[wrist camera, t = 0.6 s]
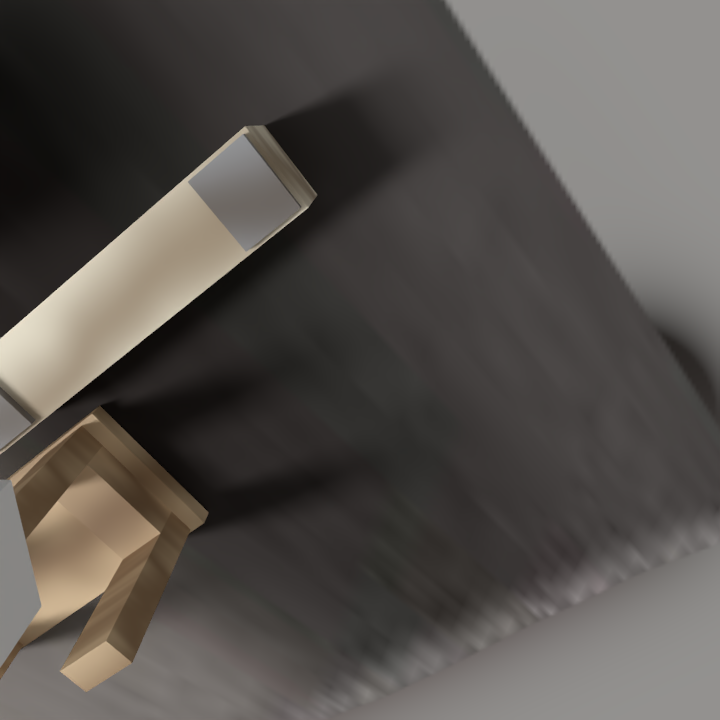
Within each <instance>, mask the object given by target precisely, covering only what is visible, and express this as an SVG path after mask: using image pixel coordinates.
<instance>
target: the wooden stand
mask: <svg viewBox="0 0 720 720" xmlns="http://www.w3.org/2000/svg"><path fill="white" fill-rule="evenodd" d="M7 480H11V482H12V486H13V490H14V494H15V498H16V502H17V506H18V510H19V515H20V519H21V523H22V527H23V531H24V535H25V539H26V543H27V548H28V552H29V556H30V560H31V564H32V568H33V572H34V576H35V580H36V585H37V589H38V593H39V597H40V601H41V605H42V606H41V608H40V609H39V611H38V612H37V614H36V615H35V617H34V618H33V620H32V621H31V623H30V624H29V626H28V627H27V629H26V630H25V632H24V633H23V635H22V636H21V638H20V639H19V641H18V642H17V644H16V645H15V647H14V648H13V650H12V651H11V653H10V654H9V656H8V657H7V659H6V660H5V662H4V663H3V665H2V666H1V668H0V679H1V678H2V676H3V674H4V673H5V671H6V670H7V668H8V667H9V665H10V664H11V662H12V661H13V659H14V658H15V656H16V655H17V653H18V652H19V650H20V649H21V648H23V647H24V646H26V645H27V644H29V643H30V642H32V641H33V640H35V639H36V638H38V637H39V636H40V635H42V634H43V633H45V632H46V631H48V630H49V629H51V628H52V627H54V626H55V625H56V624H58V623H59V622H61V621H62V620H64V619H65V618H67V617H68V616H70V615H71V614H72V613H74V612H75V611H77V610H78V609H80V608H81V607H83V606H84V605H86V604H87V603H88V602H90V601H91V600H93V599H94V598H96V597H97V596H99V595H100V594H102V593H103V592H104V591H105V592H104V594H103V596H102V597H101V599H100V601H99V603H98V604H97V606H96V608H95V610H94V612H93V613H92V615H91V617H90V619H89V620H88V622H87V624H86V626H85V628H84V629H83V631H82V633H81V635H80V636H79V638H78V640H77V642H76V644H75V645H74V647H73V649H72V651H71V653H70V654H69V656H68V658H67V660H66V661H65V663H64V665H63V667H62V669H61V670H60V672H61V673H63V674H64V675H65V676H66V677H68V678H69V679H70V680H72V681H73V682H74V683H75V684H77V685H78V686H79V687H80V688H82V689H83V690H84V691H85V692H87V691H89V690H90V689H92V688H93V687H95V686H96V685H98V684H100V683H101V682H103V681H104V680H106V679H107V678H109V677H111V676H112V675H114V674H115V673H117V672H118V671H120V670H122V669H123V668H125V667H126V666H128V665H129V664H131V663H132V662H133V660H134V657H135V655H136V653H137V651H138V648H139V646H140V644H141V641H142V639H143V637H144V635H145V632H146V630H147V628H148V625H149V623H150V621H151V619H152V616H153V614H154V612H155V609H156V607H157V605H158V603H159V600H160V598H161V596H162V593H163V591H164V589H165V587H166V584H167V582H168V580H169V577H170V575H171V573H172V571H173V568H174V566H175V564H176V561H177V559H178V557H179V555H180V552H181V550H182V548H183V545H184V543H185V541H186V539H187V536H188V534H189V533H190V532H192V531H193V530H195V529H196V528H198V527H199V526H200V525H202V524H203V523H205V520H206V518H207V515H208V513H209V512H208V511H207V510H206V509H205V508H204V507H203V506H202V505H201V504H199V503H198V502H197V501H196V500H195V499H194V498H193V497H192V496H191V495H190V494H189V493H188V492H187V491H186V490H185V489H184V488H183V487H182V486H181V485H180V484H179V483H178V482H177V481H176V480H175V479H174V478H173V477H172V476H171V475H170V474H169V473H168V472H167V471H166V470H165V469H164V468H163V467H162V466H161V465H160V464H159V463H158V462H157V461H156V460H155V459H154V458H153V457H152V456H151V455H149V454H148V453H147V452H146V451H145V450H144V449H143V448H142V447H141V446H140V445H139V444H138V443H137V442H136V441H135V440H134V439H133V438H132V437H131V436H130V435H129V434H128V433H127V432H126V431H125V430H124V429H123V428H122V427H121V426H120V425H119V424H118V423H117V422H116V421H115V420H114V419H113V418H112V417H111V416H110V415H109V414H108V413H107V412H106V411H105V410H104V409H103V408H102V407H101V406H99V407H97V408H96V409H95V410H94V411H92V412H91V413H90V414H88V415H87V416H86V417H85V418H83V419H82V420H81V421H80V422H78V423H77V424H76V425H75V426H73V427H72V428H71V429H70V430H68V431H67V432H66V433H65V434H63V435H62V436H61V437H59V438H58V439H57V440H56V441H54V442H53V443H52V444H51V445H49V446H48V447H47V448H46V449H44V450H43V451H42V452H41V453H39V454H38V455H37V456H36V457H34V458H33V459H32V460H30V461H29V462H28V463H27V464H25V465H24V466H23V467H22V468H20V469H19V470H18V471H17V472H15V473H14V474H13V475H12V476H10V477H9V478H8V479H7Z"/></svg>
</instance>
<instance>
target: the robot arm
mask: <svg viewBox="0 0 720 720" xmlns="http://www.w3.org/2000/svg"><path fill="white" fill-rule="evenodd" d="M41 606H42V605H41V601H40V597H39V593H38V589H37V585H36V580H35V576H34V572H33V568H32V564H31V560H30V556H29V552H28V548H27V543H26V539H25V535H24V531H23V527H22V523H21V519H20V515H19V510H18V506H17V502H16V498H15V494H14V490H13V486H12V482H11V480H0V668H1V666H2V665H3V663H4V662H5V660H6V659H7V657H8V656H9V654H10V653H11V651H12V650H13V648H14V647H15V645H16V644H17V642H18V641H19V639H20V638H21V636H22V635H23V633H24V632H25V630H26V629H27V627H28V626H29V624H30V623H31V621H32V620H33V618H34V617H35V615H36V614H37V612H38V611H39V609H40V608H41Z"/></svg>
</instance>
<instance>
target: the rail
mask: <svg viewBox="0 0 720 720" xmlns="http://www.w3.org/2000/svg"><path fill="white" fill-rule="evenodd" d="M316 196H317V194H316V192H315V191H314V190H313V188H312V187H311V186H310V184H309V183H308V182H307V181H306V179H305V178H304V177H303V175H302V174H301V173H300V171H299V170H298V169H297V167H296V166H295V165H294V164H293V162H292V161H291V160H290V158H289V157H288V156H287V154H286V153H285V152H284V151H283V149H282V148H281V147H280V145H279V144H278V143H277V141H276V140H275V139H274V137H273V136H272V135H271V134H270V132H269V131H268V130H267V128H266V127H265V126H264V125H263V126H245V127H244V128H243V129H242V130H240V131H239V132H238V133H237V134H236V135H235V136H233V137H232V138H231V139H230V140H229V141H228V142H227V143H225V144H224V145H223V146H222V147H221V148H220V149H219V150H217V151H216V152H215V153H214V154H213V155H212V156H210V157H209V158H208V159H207V160H206V161H205V162H204V163H202V164H201V165H200V166H199V167H198V168H197V169H195V170H194V171H193V172H192V173H191V174H190V175H189V176H187V177H186V178H185V179H184V180H183V181H182V182H180V183H179V184H178V185H177V186H176V187H175V188H174V189H172V190H171V191H170V192H169V193H168V194H167V195H166V196H164V197H163V198H162V199H161V200H160V201H159V202H157V203H156V204H155V205H154V206H153V207H152V208H151V209H149V210H148V211H147V212H146V213H145V214H144V215H142V216H141V217H140V218H139V219H138V220H137V221H136V222H134V223H133V224H132V225H131V226H130V227H129V228H127V229H126V230H125V231H124V232H123V233H122V234H121V235H119V236H118V237H117V238H116V239H115V240H114V241H113V242H111V243H110V244H109V245H108V246H107V247H106V248H104V249H103V250H102V251H101V252H100V253H99V254H98V255H96V256H95V257H94V258H93V259H92V260H91V261H89V262H88V263H87V264H86V265H85V266H84V267H83V268H81V269H80V270H79V271H78V272H77V273H76V274H74V275H73V276H72V277H71V278H70V279H69V280H68V281H66V282H65V283H64V284H63V285H62V286H61V287H60V288H58V289H57V290H56V291H55V292H54V293H53V294H51V295H50V296H49V297H48V298H47V299H46V300H45V301H43V302H42V303H41V304H40V305H39V306H38V307H36V308H35V309H34V310H33V311H32V312H31V313H30V314H28V315H27V316H26V317H25V318H24V319H23V320H21V321H20V322H19V323H18V324H17V325H16V326H15V327H13V328H12V329H11V330H10V331H9V332H8V333H7V334H5V335H4V336H3V337H2V338H1V339H0V454H1V453H3V452H4V451H5V450H6V449H8V448H9V447H10V446H11V445H13V444H14V443H15V442H16V441H18V440H19V439H20V438H21V437H23V436H24V435H25V434H26V433H28V432H29V431H30V430H31V429H33V428H34V427H35V426H36V425H38V424H39V423H40V422H41V421H43V420H44V419H45V418H46V417H48V416H49V415H50V414H51V413H53V412H54V411H55V410H56V409H58V408H59V407H60V406H61V405H63V404H64V403H65V402H66V401H68V400H69V399H70V398H71V397H73V396H74V395H75V394H76V393H78V392H79V391H80V390H81V389H83V388H84V387H85V386H86V385H88V384H89V383H90V382H91V381H92V380H94V379H95V378H96V377H97V376H99V375H100V374H101V373H102V372H104V371H105V370H106V369H107V368H109V367H110V366H111V365H112V364H114V363H115V362H116V361H117V360H119V359H120V358H121V357H122V356H124V355H125V354H126V353H127V352H129V351H130V350H131V349H132V348H134V347H135V346H136V345H137V344H139V343H140V342H141V341H142V340H144V339H145V338H146V337H147V336H149V335H150V334H151V333H152V332H154V331H155V330H156V329H157V328H159V327H160V326H161V325H162V324H164V323H165V322H166V321H167V320H169V319H170V318H171V317H172V316H174V315H175V314H176V313H177V312H179V311H180V310H181V309H182V308H184V307H185V306H186V305H187V304H189V303H190V302H191V301H192V300H194V299H195V298H196V297H197V296H199V295H200V294H201V293H202V292H204V291H205V290H206V289H207V288H209V287H210V286H211V285H212V284H214V283H215V282H216V281H217V280H219V279H220V278H221V277H222V276H224V275H225V274H226V273H227V272H229V271H230V270H231V269H232V268H234V267H235V266H236V265H237V264H239V263H240V262H241V261H242V260H244V259H245V258H246V257H247V256H249V255H250V254H251V253H252V252H254V251H255V250H256V249H257V248H259V247H260V246H261V245H262V244H264V243H265V242H266V241H267V240H269V239H270V238H271V237H272V236H274V235H275V234H276V233H277V232H279V231H280V230H281V229H282V228H284V227H285V226H286V225H287V224H289V223H290V222H291V221H292V220H294V219H295V218H296V217H297V216H299V215H300V214H301V213H302V212H304V211H305V210H306V209H307V208H309V206H310V205H311V203H312V202H313V200H314V199H315V198H316Z"/></svg>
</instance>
